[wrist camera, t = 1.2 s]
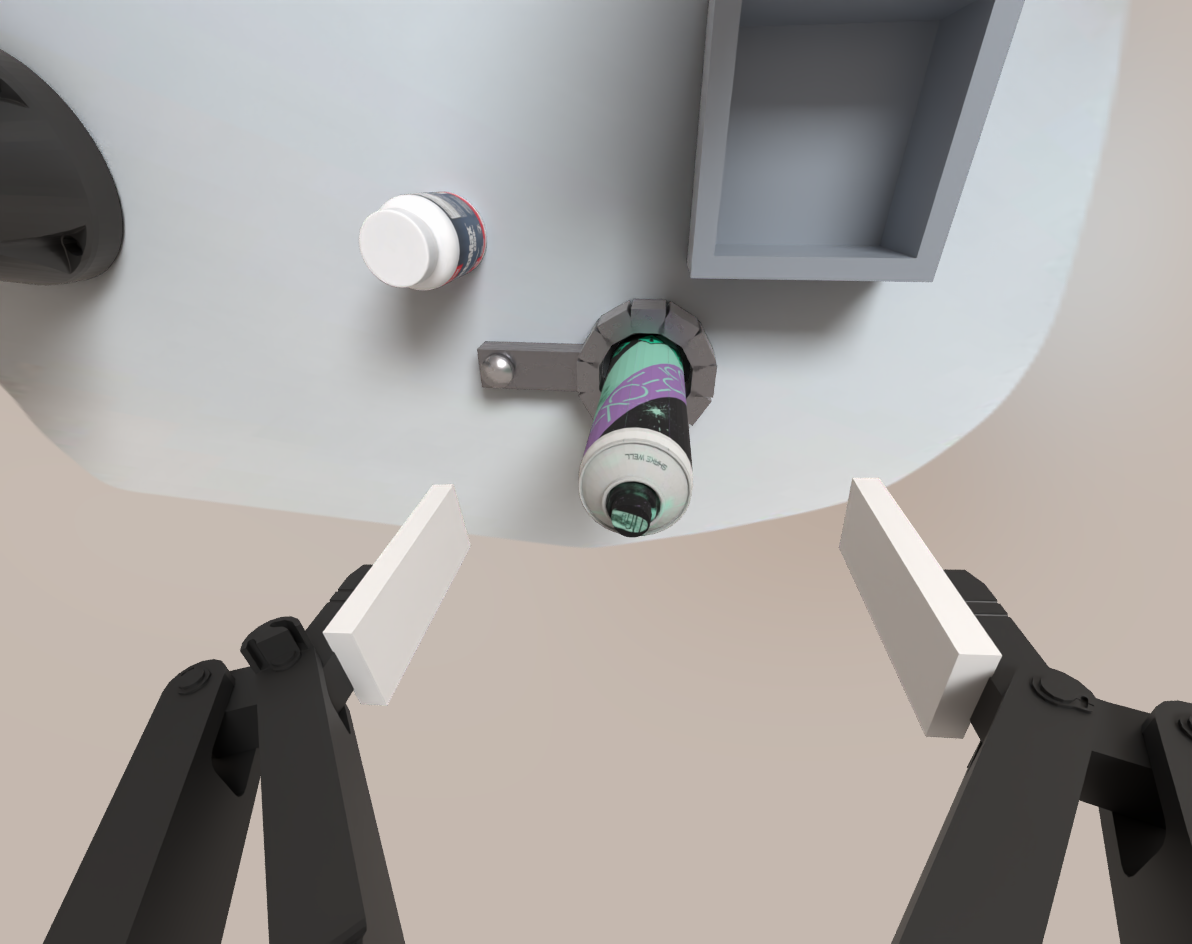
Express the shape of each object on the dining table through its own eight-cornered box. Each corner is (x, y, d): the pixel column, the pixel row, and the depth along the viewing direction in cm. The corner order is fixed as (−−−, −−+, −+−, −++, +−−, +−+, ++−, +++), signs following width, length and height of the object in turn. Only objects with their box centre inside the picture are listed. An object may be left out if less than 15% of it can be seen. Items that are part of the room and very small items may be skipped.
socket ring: (494, 416, 42) (483, 432, 39) (480, 295, 37) (466, 305, 34) (704, 426, 40) (707, 443, 38) (719, 300, 35) (723, 311, 32)
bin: (686, 262, 34) (690, 278, 29) (708, 1, 27) (718, -37, 22) (890, 264, 33) (932, 282, 27) (967, -9, 26) (1042, -53, 21)
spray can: (691, 385, 38) (712, 556, 21) (625, 407, 40) (596, 582, 23) (669, 318, 36) (673, 450, 19) (599, 344, 38) (546, 487, 21)
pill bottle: (472, 288, 37) (422, 318, 29) (406, 250, 36) (337, 271, 28) (499, 217, 34) (452, 230, 26) (429, 174, 33) (359, 176, 26)
